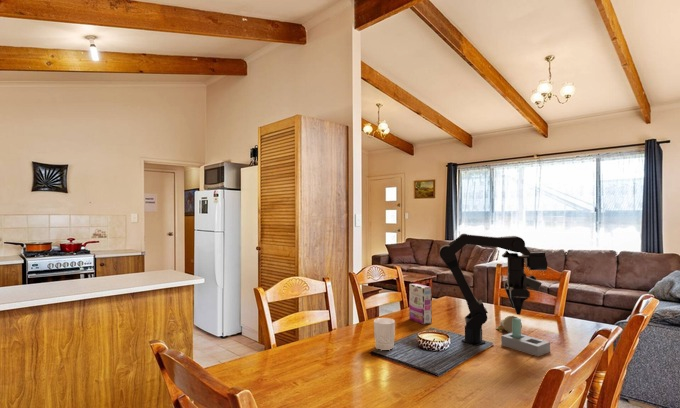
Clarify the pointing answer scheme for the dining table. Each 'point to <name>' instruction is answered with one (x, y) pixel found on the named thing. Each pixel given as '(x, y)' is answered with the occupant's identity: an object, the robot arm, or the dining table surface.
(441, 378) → the dining table surface
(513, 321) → the peg
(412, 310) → the candy bar box
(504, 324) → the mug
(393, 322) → the white cup
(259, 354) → the dining table surface
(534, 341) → the block
